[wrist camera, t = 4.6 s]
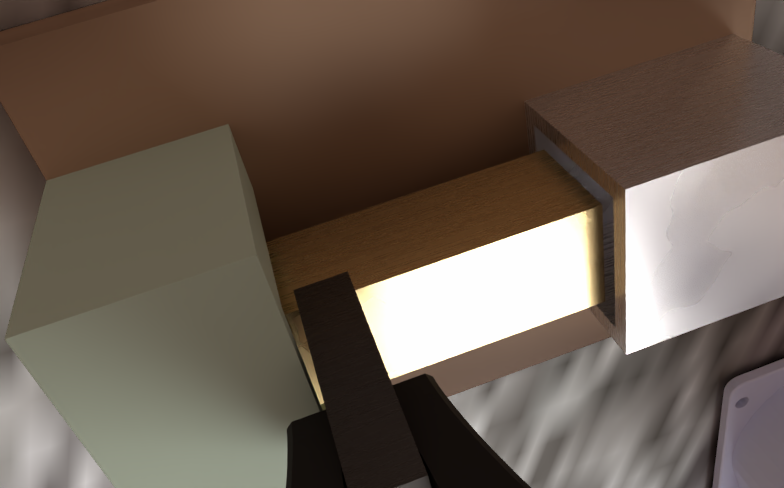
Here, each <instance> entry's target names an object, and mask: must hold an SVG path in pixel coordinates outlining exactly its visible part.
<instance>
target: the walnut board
mask: <svg viewBox="0 0 784 488" xmlns="http://www.w3.org/2000/svg"><path fill="white" fill-rule="evenodd" d="M755 6H756V0H108V1H104V2H101V3H97V4H94V5H90V6H87V7H83V8H80V9H76V10H73V11H69V12H66V13H62V14H59V15H55V16H52V17H48V18H45V19H41V20H38V21H34V22H31V23H28V24H24V25H21V26H17V27H14V28H10V29H7V30H3V31H0V102H1V104H2V105H3V107H4V109H5V111H6V112H7V114H8V116H9V117H10V119H11V121H12V123H13V124H14V126H15V128H16V129H17V131H18V133H19V135H20V136H21V138H22V140H23V141H24V143H25V145H26V147H27V148H28V150H29V152H30V153H31V155H32V157H33V159H34V160H35V162H36V164H37V165H38V167H39V169H40V171H41V172H42V174H43V176H44V177H45V179H46V181H47V180H50V179H53V178H56V177H60V176H63V175H66V174H69V173H72V172H76V171H79V170H82V169H85V168H89V167H92V166H95V165H98V164H101V163H105V162H108V161H111V160H114V159H117V158H121V157H124V156H127V155H130V154H133V153H137V152H140V151H143V150H146V149H149V148H153V147H156V146H159V145H162V144H165V143H169V142H172V141H175V140H178V139H181V138H185V137H188V136H191V135H194V134H197V133H201V132H204V131H207V130H210V129H213V128H217V127H220V126H223V125H226V124H229V127H230V130H231V132H232V135H233V137H234V140H235V143H236V145H237V148H238V151H239V153H240V156H241V158H242V161H243V164H244V166H245V169H246V172H247V174H248V177H249V180H250V182H251V185H252V187H253V191H254V195H255V199H256V203H257V207H258V211H259V215H260V220H261V224H262V228H263V232H264V236H265V240H266V242H267V241H270V240H273V239H276V238H279V237H282V236H285V235H288V234H291V233H294V232H297V231H300V230H303V229H306V228H309V227H312V226H315V225H318V224H321V223H324V222H327V221H330V220H333V219H336V218H339V217H342V216H345V215H349V214H352V213H355V212H358V211H361V210H364V209H367V208H370V207H373V206H376V205H379V204H382V203H385V202H388V201H391V200H394V199H397V198H400V197H403V196H406V195H409V194H412V193H415V192H418V191H421V190H424V189H427V188H430V187H433V186H436V185H439V184H442V183H445V182H448V181H451V180H454V179H457V178H460V177H463V176H466V175H469V174H472V173H475V172H478V171H481V170H484V169H487V168H490V167H493V166H496V165H499V164H502V163H505V162H508V161H511V160H514V159H517V158H520V157H523V156H526V155H529V144H528V134H527V124H526V113H525V103H524V101H526V100H529V99H533V98H536V97H539V96H542V95H545V94H548V93H551V92H554V91H557V90H560V89H563V88H567V87H570V86H573V85H576V84H579V83H582V82H585V81H588V80H591V79H594V78H597V77H601V76H604V75H607V74H610V73H613V72H616V71H619V70H622V69H625V68H628V67H631V66H635V65H638V64H641V63H644V62H647V61H650V60H653V59H656V58H659V57H662V56H665V55H669V54H672V53H675V52H678V51H681V50H684V49H687V48H690V47H693V46H696V45H699V44H703V43H706V42H709V41H712V40H715V39H718V38H721V37H724V36H727V35H730V34H735V35H737V36H740V37H742V38H744V39H746V40H749V41H751V42H752V34H753V24H754V15H755ZM609 337H611V335H610V334H609V333H608V332H607V331H606V329H605V328H604V327H603V326H602V325H601V323H600V322H599V321H598V320H597V318H596V317H595V316H594V315H593V314H592V312H591V311H590V310H589V309H588V308H586V309H583V310H580V311H577V312H575V313H572V314H569V315H566V316H564V317H561V318H558V319H555V320H553V321H550V322H547V323H544V324H541V325H539V326H536V327H533V328H530V329H528V330H525V331H522V332H519V333H517V334H514V335H511V336H508V337H506V338H503V339H500V340H497V341H494V342H492V343H489V344H486V345H483V346H481V347H478V348H475V349H472V350H470V351H467V352H464V353H461V354H459V355H456V356H453V357H450V358H447V359H445V360H442V361H439V362H436V363H434V364H431V365H428V366H425V367H423V368H420V369H417V370H414V371H412V372H409V373H406V374H403V375H400V376H398V377H395V378H392V379H390V380H391V383H392V385H394V384H397V383H400V382H403V381H405V380H408V379H411V378H414V377H416V376H419V375H422V374H428V375H431V376H433V377H434V379H435V381H436V382H437V384H438V385H439V387H440V388H441V389H442V391H443V392H444V394H445V395H446V396H447V397H449V396H452V395H454V394H457V393H460V392H462V391H465V390H468V389H471V388H473V387H476V386H479V385H481V384H484V383H487V382H490V381H492V380H495V379H498V378H500V377H503V376H506V375H509V374H511V373H514V372H517V371H520V370H522V369H525V368H528V367H530V366H533V365H536V364H539V363H541V362H544V361H547V360H549V359H552V358H555V357H558V356H560V355H563V354H566V353H568V352H571V351H574V350H577V349H579V348H582V347H585V346H587V345H590V344H593V343H596V342H598V341H601V340H604V339H606V338H609Z"/></svg>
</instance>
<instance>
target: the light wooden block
mask: <svg viewBox="0 0 784 488" xmlns="http://www.w3.org/2000/svg"><path fill="white" fill-rule="evenodd" d="M266 244H267V248H268V252H269V257H270V261H271V265H272V269H273V273H274V277H275V281H276V285H277V290H278V294H279V298H280V302H281V306H282V309H283V312H284V314H285V317H286V319H287V322H288V324H289V327H290V329H291V332H292V334H293V337H294V339H295V342H296V344H297V347H298V349H299V352H300V354H301V357H302V359H303V362H304V364H305V367H306V369H307V372H308V374H309V377H310V379H311V382H312V384H313V387H314V389H315V392H316V394H317V397H318V399H319V402H320V404H323V403H324V404H325V408H326V412H327V415H328V419H329V423H330V426H331V430H332V434H333V437H334V441H335V445H336V448H337V452H338V456H339V459H340V463H341V467H342V470H343V474H344V478H345V481H346V485H347V488H431V484H430V481H429V477H428V474H427V472H426V469H425V466H424V464H423V461H422V459H421V456H420V454H419V451H418V449H417V446H416V444H415V441H414V439H413V436H412V433H411V431H410V428H409V426H408V423H407V421H406V418H405V416H404V413H403V411H402V408H401V406H400V403H399V400H398V398H397V395H396V393H395V390H394V388H393V385H392V383H391V380H390V379H392V378H395V377H398V376H400V375H403V374H406V373H409V372H412V371H414V370H417V369H420V368H423V367H425V366H428V365H431V364H434V363H436V362H439V361H442V360H445V359H447V358H450V357H453V356H456V355H459V354H461V353H464V352H467V351H470V350H472V349H475V348H478V347H481V346H483V345H486V344H489V343H492V342H494V341H497V340H500V339H503V338H506V337H508V336H511V335H514V334H517V333H519V332H522V331H525V330H528V329H530V328H533V327H536V326H539V325H541V324H544V323H547V322H550V321H553V320H555V319H558V318H561V317H564V316H566V315H569V314H572V313H575V312H577V311H580V310H583V309H586V308H588V307H591V306H594V305H597V304H600V303H602V302H605V277H604V242H603V207H602V204H601V203H600V202H599V201H598V200H597V199H596V198H595V197H593V196H592V195H591V194H590V193H589V192H588V191H587V190H586V189H585V188H584V187H583V186H582V185H581V184H580V183H579V182H578V181H577V180H576V179H575V178H574V177H572V176H571V175H570V174H569V173H568V172H567V171H566V170H565V169H564V168H563V167H562V166H561V165H560V164H559V163H558V162H557V161H556V160H555V159H554V158H553V157H551V156H550V155H549V154H548V153H547V152H546V151H545V150H541V151H538V152H535V153H532V154H529V155H526V156H523V157H520V158H517V159H514V160H511V161H508V162H505V163H502V164H499V165H496V166H493V167H490V168H487V169H484V170H481V171H478V172H475V173H472V174H469V175H466V176H463V177H460V178H457V179H454V180H451V181H448V182H445V183H442V184H439V185H436V186H433V187H430V188H427V189H424V190H421V191H418V192H415V193H412V194H409V195H406V196H403V197H400V198H397V199H394V200H391V201H388V202H385V203H382V204H379V205H376V206H373V207H370V208H367V209H364V210H361V211H358V212H355V213H352V214H349V215H345V216H342V217H339V218H336V219H333V220H330V221H327V222H324V223H321V224H318V225H315V226H312V227H309V228H306V229H303V230H300V231H297V232H294V233H291V234H288V235H285V236H282V237H279V238H276V239H273V240H270V241H267V242H266Z"/></svg>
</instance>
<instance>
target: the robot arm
mask: <svg viewBox="0 0 784 488" xmlns="http://www.w3.org/2000/svg"><path fill="white" fill-rule="evenodd" d="M393 388H394V390H395V393H396V395H397V398H398V400H399V403H400V406H401V408H402V411H403V413H404V416H405V418H406V421H407V423H408V426H409V428H410V431H411V433H412V436H413V439H414V441H415V444H416V446H417V449H418V451H419V454H420V456H421V459H422V461H423V464H424V466H425V469H426V472H427V474H428V477H429V481H430V484H431V488H531V487H530V486H529V485H528V484H527V483H526V482H525V481H523V480H522V479H521V478H520V477H519V476H518V475H517V474H516V473H515V472H514V471H513V470H512V469H511V468H510V467H509V466H508V465H507V464H506V463H505V462H504V461H503V460H502V459H501V458H500V457H499V456H498V455H497V454H496V453H495V452H494V451H493V450H492V449H491V447H490V446H489V445H488V444H487V443H486V442H485V441H484V440H483V439H482V438H481V437H480V436H479V435H478V433H477V432H476V431H475V430H474V429H473V428H472V427H471V425H470V424H469V423H468V422H467V421H466V420H465V419H464V417H463V416H462V415H461V414H460V413H459V411H458V410H457V409H456V408H455V407H454V405H453V404H452V403H451V401H450V400H449V399H448V398H447V396H446V395H445V394H444V392H443V391H442V389H441V388H440V387H439V385H438V384H437V382H436V381H435V379H434V377H433V376H431V375H428V374H422V375H419V376H416V377H414V378H411V379H408V380H405V381H403V382H400V383H397V384H394V385H393ZM286 488H347V485H346V481H345V478H344V474H343V470H342V467H341V463H340V459H339V456H338V452H337V448H336V445H335V441H334V437H333V434H332V430H331V426H330V423H329V419H328V415H327V412H326V409H325V410H323V411H320V412H317V413H314V414H312V415H309V416H306V417H303V418H301V419H298V420H295V421H292V422H291V423H290V425H289V426H288V428H287V478H286ZM712 488H784V358H783V359H781V360H778V361H776V362H773V363H770V364H768V365H765V366H763V367H760V368H757V369H755V370H752V371H749V372H747V373H744V374H742V375H739V376H737V377H735V378H733V379H731V380H730V381H729V382H728V383H727V384H726V386H725V389H724V394H723V402H722V411H721V419H720V427H719V436H718V444H717V453H716V461H715V470H714V478H713V487H712Z"/></svg>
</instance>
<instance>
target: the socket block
mask: <svg viewBox="0 0 784 488" xmlns="http://www.w3.org/2000/svg"><path fill="white" fill-rule="evenodd" d="M5 340H6V342H7V343H8V344H9V346H10V347H11V349H12V350H13V351H14V353H15V354H16V355H17V357H18V358H19V359H20V361H21V362H22V363H23V365H24V366H25V367H26V369H27V370H28V371H29V373H30V374H31V375H32V377H33V378H34V379H35V381H36V382H37V384H38V385H39V386H40V388H41V389H42V390H43V392H44V393H45V394H46V396H47V397H48V398H49V400H50V401H51V402H52V404H53V405H54V406H55V408H56V409H57V410H58V412H59V413H60V414H61V416H62V417H63V419H64V420H65V421H66V423H67V424H68V425H69V427H70V428H71V429H72V431H73V432H74V433H75V435H76V436H77V437H78V439H79V440H80V441H81V443H82V444H83V445H84V447H85V448H86V449H87V451H88V452H89V454H90V455H91V456H92V458H93V459H94V460H95V462H96V463H97V464H98V466H99V467H100V468H101V470H102V471H103V472H104V474H105V475H106V476H107V478H108V479H109V480H110V482H111V483H112V484H113V486H114V487H115V488H286V478H287V428H288V426H289V425H290V423H291V422H292V421H295V420H298V419H301V418H303V417H306V416H309V415H312V414H314V413H317V412H320V411H323V410H325V409H326V408H325V404H324V403H323V404H320V402H319V399H318V397H317V394H316V392H315V389H314V387H313V384H312V382H311V379H310V377H309V374H308V372H307V369H306V367H305V364H304V362H303V359H302V357H301V354H300V352H299V349H298V347H297V344H296V342H295V339H294V337H293V334H292V332H291V329H290V327H289V324H288V322H287V319H286V317H285V314H284V312H283V309H282V306H281V302H280V298H279V294H278V290H277V285H276V281H275V277H274V273H273V269H272V265H271V261H270V257H269V252H268V248H267V244H266V240H265V236H264V232H263V228H262V224H261V220H260V215H259V211H258V207H257V203H256V199H255V195H254V191H253V187H252V185H251V182H250V180H249V177H248V174H247V172H246V169H245V166H244V164H243V161H242V158H241V156H240V153H239V151H238V148H237V145H236V143H235V140H234V137H233V135H232V132H231V130H230V127H229V124H226V125H223V126H220V127H217V128H213V129H210V130H207V131H204V132H201V133H197V134H194V135H191V136H188V137H185V138H181V139H178V140H175V141H172V142H169V143H165V144H162V145H159V146H156V147H153V148H149V149H146V150H143V151H140V152H137V153H133V154H130V155H127V156H124V157H121V158H117V159H114V160H111V161H108V162H105V163H101V164H98V165H95V166H92V167H89V168H85V169H82V170H79V171H76V172H72V173H69V174H66V175H63V176H60V177H56V178H53V179H50V180H47V181H46V184H45V188H44V192H43V195H42V199H41V203H40V207H39V211H38V214H37V218H36V222H35V226H34V230H33V233H32V237H31V241H30V245H29V248H28V252H27V256H26V260H25V264H24V267H23V271H22V275H21V279H20V283H19V286H18V290H17V294H16V298H15V301H14V305H13V309H12V313H11V317H10V320H9V324H8V328H7V332H6V336H5Z"/></svg>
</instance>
